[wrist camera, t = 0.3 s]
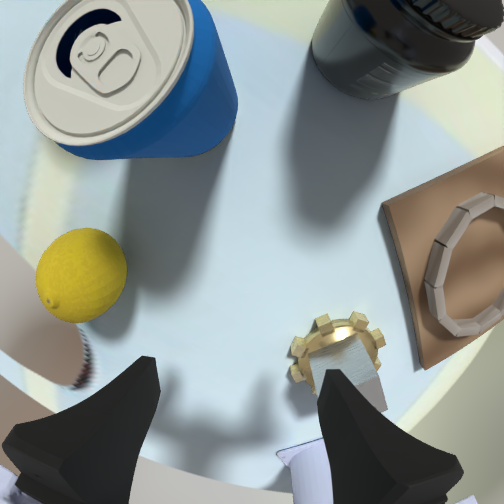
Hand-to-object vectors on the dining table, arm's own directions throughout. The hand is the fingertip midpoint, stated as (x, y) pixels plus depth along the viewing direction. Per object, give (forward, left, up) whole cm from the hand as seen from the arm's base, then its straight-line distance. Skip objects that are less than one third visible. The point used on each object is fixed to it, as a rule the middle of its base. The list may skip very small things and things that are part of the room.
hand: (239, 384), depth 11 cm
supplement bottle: (+12, -14, -10) cm, 21 cm away
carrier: (-6, -18, -10) cm, 21 cm away
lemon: (+7, +8, -10) cm, 14 cm away
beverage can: (+13, -2, -10) cm, 16 cm away
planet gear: (-8, -4, -10) cm, 13 cm away
